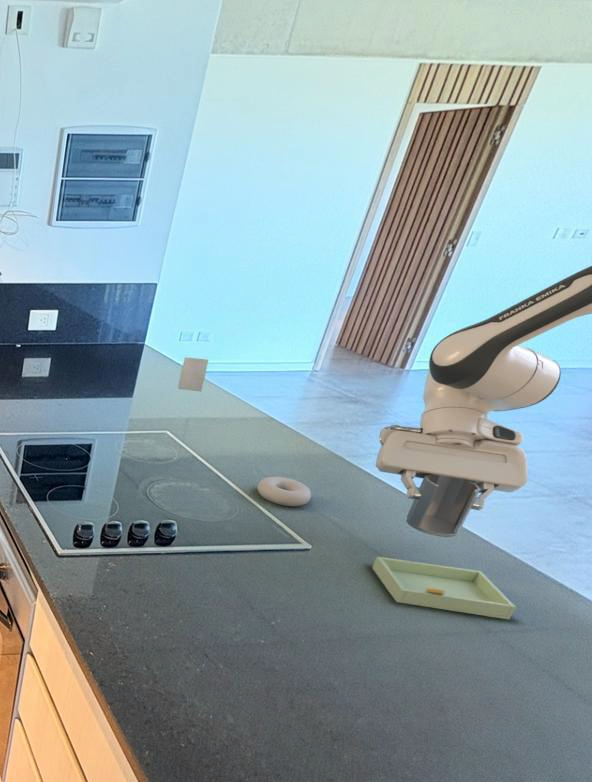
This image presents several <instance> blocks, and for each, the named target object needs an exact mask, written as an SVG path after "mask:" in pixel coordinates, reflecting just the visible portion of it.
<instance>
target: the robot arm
mask: <svg viewBox="0 0 592 782" xmlns="http://www.w3.org/2000/svg"><path fill="white" fill-rule="evenodd" d="M588 315H592V265H590V266H588V267H586V268H583V269H581V270H580V271H577V272H575V273H573V274H571V275H569V276H567V277H565V278H563V279H561V280H560V281H557V282H555V283H554V284H552V285H550V286H548V287H546V288H544V289H542V290H540V291H538V292H536V293H535V294H532V295H531V296H529V297H527V298H525V299H522V300H521V301H519V302H517V303H516V304H513V305H511V306H510V307H508V308H505V309H504V310H502V311H500V312H498V313H496V314H494V315H492V316H490V317H488V318H486V319H484V320H482V321H479V322H477V323H474V324H471V325H469V326H466V327H463V328H460V329H458V330H456V331H454V332H452V333H450V334H449V335H446V336H445V337H444V338H442V339H441V340H440V341H439V342H438V343H437V344H436V345H435V346H434V347H433V349H432V350H431V353H430V356H429V361H428V368H429V369H428V371H427V375H426V378H425V383H424V388H423V394H422V395H423V396H422V397H423V402H424V409H423V411H422V413H421V415H420V422H419V427H415V426H404V425H399V424H391V425H389V426H385V427H383V428H382V429H381V430H380V431H379V437H378V441H379V443H380V447H379V449H378V453H377V456H376V460H375V467H376V468H377V470H378V471H379V472H382V473H387V474H393V475H398V476H399V475H400V481H401V483H402V484H403V486H404V487H405V489H406V498H407V499H412V500H414V499H418V498H420V497H421V493H420V492H421V489H422V488H420V486H417V485H416V483H415V481H414V479H415V478H418V479H422V480H423V479H424V476H426V475H427V474H429V473H430V474H436V475H442V476H448V477H454V478H461V479H467V480H469V481H471V482H473V483H475V484H477V485H478V487H479V488H480V491H479V493H478V495H477V497H476V499H475V501H474V503H473V505H472V507H471V509H470V510H474V511H481V510H482V509H483V508H484V506H485V499H487V498H488V497H489V496H490V495H491V494H492V493H493V492H494V491H496V492H504V493H513V492H515V491H517V490H520V489H521V488H523V487H524V486H526V484H527V483H528V479H529V476H528V475H529V473H528V471H529V469H528V459H527V454H526V452H525V450H524V449H523V448H522V447H520V446H519V445H521V444H522V442H523V441H524V434H523V433H522V432H520V431H518V430H515V429H513V428H509V427H507V426H504V425H501V424H499V423H497V422H494V421H493V420H490V419H488V414H489V413H491V412H506V411H513V410H519V409H524V408H525V409H526V408H528V407H532V406H535V405H537V404H539V403H541V402H543V401H545V400H546V399H548V398H549V397H550V395H552V394H553V393H554V391H555V390H556V388H557V387H558V386H559V383H560V381H561V373H562V372H561V367H560V365H559V364H558V362H557V361H555V360H554V359H552V358H550V357H548V356H546V355H544V354H542V353H540V352H538V351H535V350H533V349H532V348H528V347H525V346H523V345H521V344H524V343H526V342H528V341H530V340H532V339H535V338H537V337H538V336H540V335H542V334H544V333H546V332H548V331H550V330H552V329H555V328H557V327H559V326H561V325H562V324H565V323H567V322H569V321H571V320H573V319H576V318H580V317H584V316H588Z"/></svg>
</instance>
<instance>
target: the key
mask: <svg viewBox="0 0 592 782" xmlns="http://www.w3.org/2000/svg"><path fill="white" fill-rule="evenodd" d="M426 592H430V593H437V594H444V591H443V590H437V589H426Z"/></svg>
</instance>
